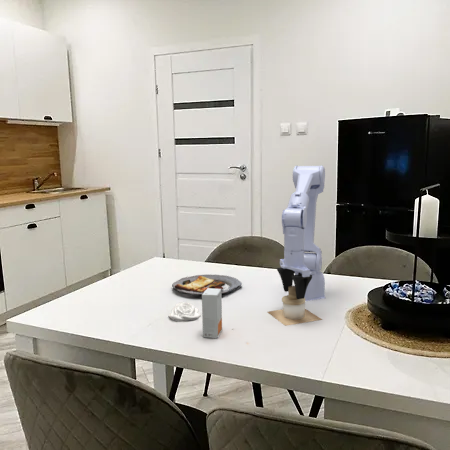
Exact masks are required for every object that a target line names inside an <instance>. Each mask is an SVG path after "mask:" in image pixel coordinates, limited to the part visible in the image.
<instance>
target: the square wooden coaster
mask: <svg viewBox="0 0 450 450" xmlns="http://www.w3.org/2000/svg"><path fill="white" fill-rule="evenodd" d="M267 313H268V314H269V315H270V316H272V317H273V318H274V319H276V320H277V321H278V322H279V323H280V324H282V325H283V326H285V327H288V326H292V325H299V324H304V323H305V324H306V323H310V322H315V321H321V320H323V318H321V317H319V316H318V315H316V314H315V313H313V312H311V311H310V310H308V309H307V308H305V317H304V318H302V319H287V318H285V317H284V316H283V308H282V309H276V310H269V311H267Z"/></svg>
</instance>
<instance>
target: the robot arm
mask: <svg viewBox="0 0 450 450" xmlns="http://www.w3.org/2000/svg"><path fill="white" fill-rule="evenodd" d="M292 182H293V185H294V188H295V191H294V192H293V193H291V195H290V198H289V201H288V203H287V207H286V208H285V209H283V210H282V214H281V226H282V234H283V235H284V236H283V243H284V244H283V247H284V248H283V258H281V259H279V266H280V267H277V268H276V271H277V272H278V274H279V277H280V280H281V283H282V287H283V291H284V292H286V293H287V292H288V287H289V286H293V284H294V286H295V291H296V298H297V299H304V298H305V302H308V301H310V302H311V301H315V300H316V301H317V300H323V299H326V296H325V293H326V292H325V284H326V281H325V276H324V274H323V272H321V270H322V265H323V257H322V254H323V253H322V250H321V248H320V247H319V245H317V244H316V243H315V232H316V231H315V229H316V228H315V227H316V213H317V202H318V197H319V195H320V194H321V193H324V189H325V182H326V169H325V166H324V165H295V166H293V170H292Z"/></svg>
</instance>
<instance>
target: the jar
mask: <svg viewBox="0 0 450 450" xmlns="http://www.w3.org/2000/svg"><path fill="white" fill-rule="evenodd" d="M282 309H283V316H284V317H285V318H287V319H302V318H304V317H305V309H306V302H305V303H304V304H300V305H289V304H285V303H283V302H282Z"/></svg>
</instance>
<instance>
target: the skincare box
mask: <svg viewBox="0 0 450 450" xmlns="http://www.w3.org/2000/svg"><path fill="white" fill-rule="evenodd" d="M222 300H223V299H222V293H221V289H214V288H207V289H206V290H205V291H204V293H203V294H202V295H201V308H202V309H201V311H202V312H201V313H202V314H201V316H202V318H201V319H202V337H203V338H209V339H218V338H219V335H221V333H222V331H223V309H222V308H223V307H222V306H223V305H222V304H223V303H222V302H223V301H222Z"/></svg>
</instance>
